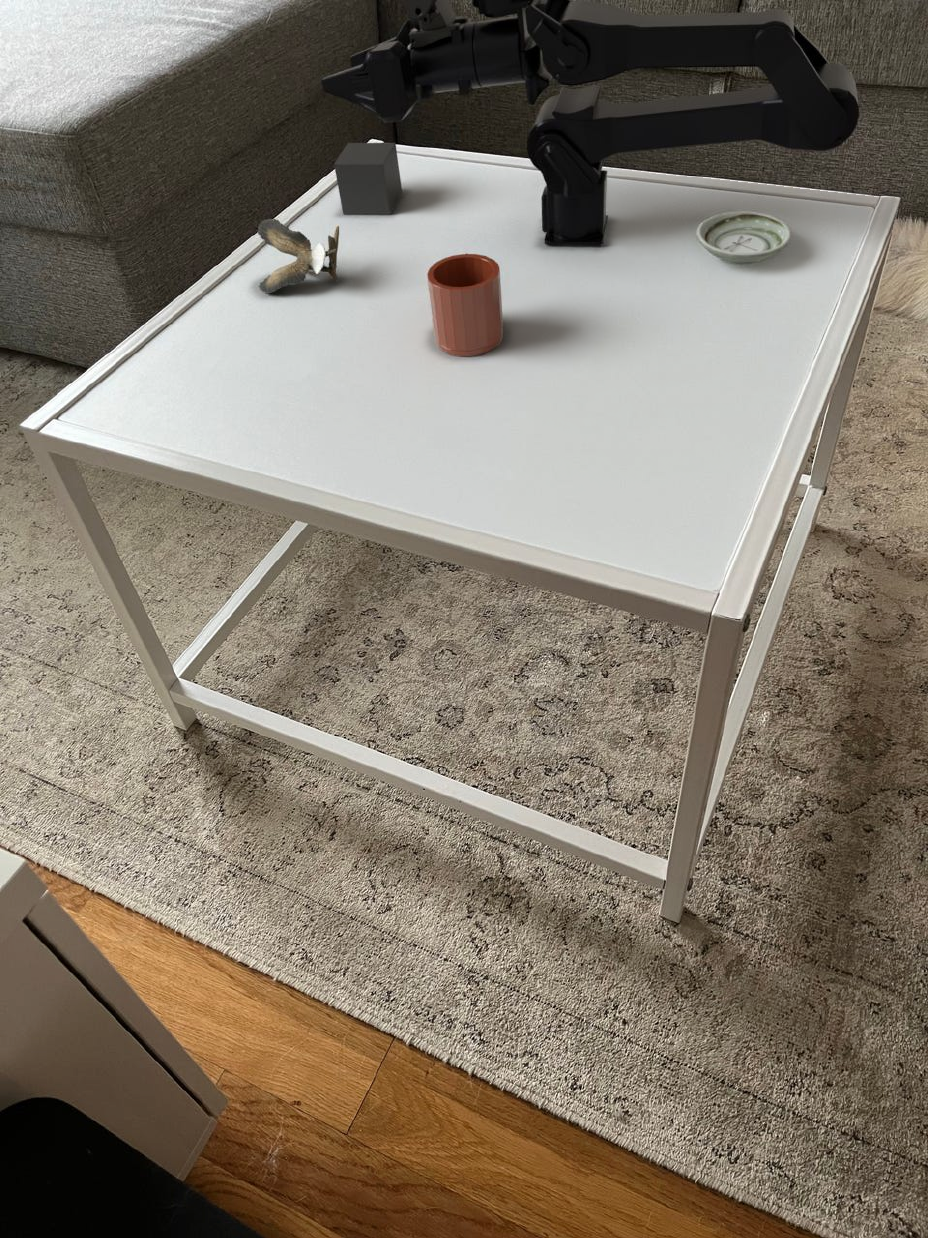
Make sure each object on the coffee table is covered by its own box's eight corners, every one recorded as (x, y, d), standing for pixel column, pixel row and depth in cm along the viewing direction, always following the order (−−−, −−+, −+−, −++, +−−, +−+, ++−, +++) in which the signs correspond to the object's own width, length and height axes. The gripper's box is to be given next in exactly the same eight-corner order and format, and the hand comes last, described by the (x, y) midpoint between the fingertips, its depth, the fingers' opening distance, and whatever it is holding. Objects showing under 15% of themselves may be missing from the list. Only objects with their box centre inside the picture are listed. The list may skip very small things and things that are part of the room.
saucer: (768, 283, 95) (772, 260, 93) (679, 264, 99) (681, 242, 97) (801, 241, 100) (805, 218, 98) (715, 225, 104) (718, 203, 102)
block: (402, 192, 116) (395, 142, 112) (390, 214, 112) (382, 163, 108) (356, 192, 117) (348, 142, 113) (343, 214, 114) (333, 163, 109)
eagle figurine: (341, 246, 106) (260, 239, 105) (338, 209, 98) (252, 201, 98) (337, 309, 104) (255, 302, 104) (334, 276, 97) (247, 269, 97)
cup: (508, 320, 94) (505, 254, 89) (496, 357, 90) (492, 290, 85) (443, 317, 96) (436, 252, 90) (428, 355, 91) (420, 288, 86)
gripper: (488, -58, 95) (347, -36, 99) (443, -24, 82) (282, 1, 86) (502, 65, 102) (370, 81, 107) (463, 115, 89) (313, 131, 93)
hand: (337, 72), depth 98 cm, fingers open, 9 cm apart
